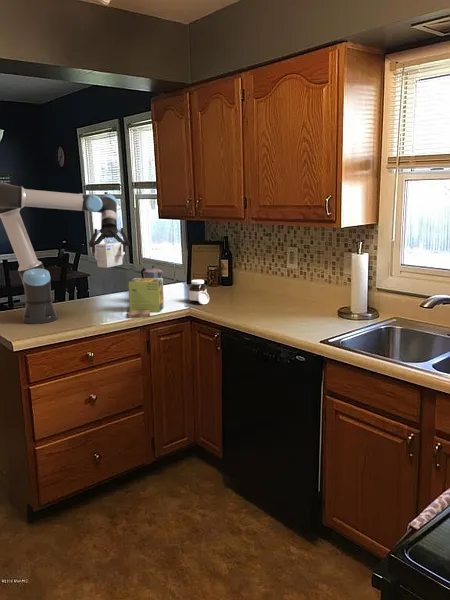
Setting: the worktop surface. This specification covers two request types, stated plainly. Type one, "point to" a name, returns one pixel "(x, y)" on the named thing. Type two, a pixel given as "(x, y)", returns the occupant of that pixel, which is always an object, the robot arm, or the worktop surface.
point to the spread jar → (198, 292)
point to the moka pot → (152, 273)
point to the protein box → (146, 294)
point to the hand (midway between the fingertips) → (109, 257)
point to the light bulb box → (109, 254)
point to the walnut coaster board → (139, 313)
